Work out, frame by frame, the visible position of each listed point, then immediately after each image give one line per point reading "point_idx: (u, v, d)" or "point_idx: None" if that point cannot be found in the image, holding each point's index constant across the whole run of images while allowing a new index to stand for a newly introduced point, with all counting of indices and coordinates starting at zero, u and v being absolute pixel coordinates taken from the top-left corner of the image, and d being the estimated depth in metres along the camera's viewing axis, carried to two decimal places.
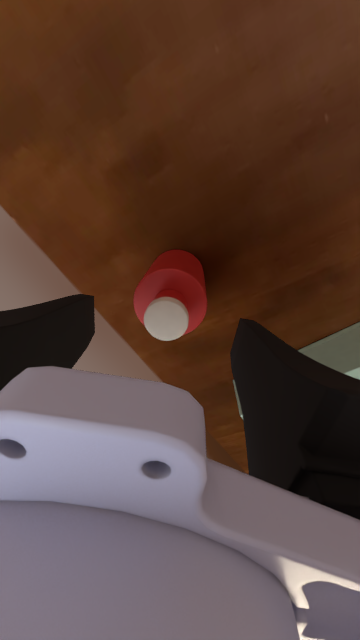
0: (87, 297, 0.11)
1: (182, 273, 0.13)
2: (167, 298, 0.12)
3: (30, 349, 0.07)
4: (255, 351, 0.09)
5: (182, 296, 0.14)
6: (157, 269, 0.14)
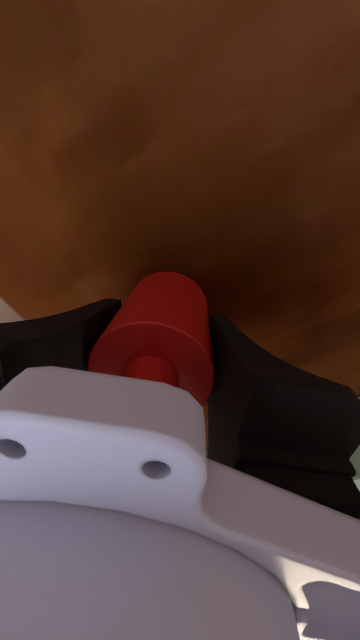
0: (116, 301, 0.11)
1: (171, 329, 0.07)
2: None
3: (72, 356, 0.07)
4: (219, 346, 0.09)
5: (171, 369, 0.08)
6: (126, 321, 0.08)
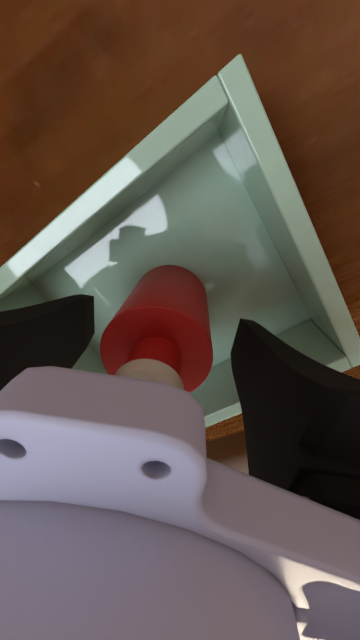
0: (87, 297, 0.11)
1: (174, 312, 0.08)
2: (147, 363, 0.07)
3: (30, 349, 0.07)
4: (255, 351, 0.09)
5: (174, 348, 0.09)
6: (134, 306, 0.09)
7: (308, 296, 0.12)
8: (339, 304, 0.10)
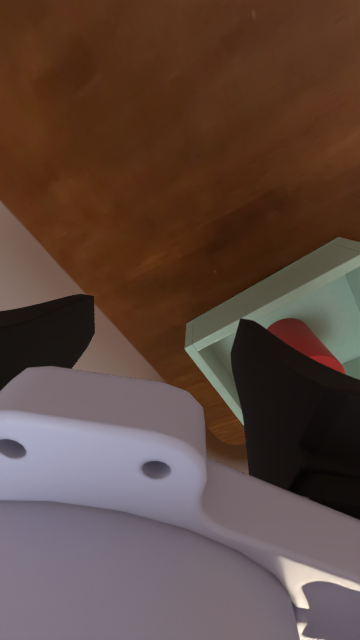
0: (87, 297, 0.11)
1: (331, 359, 0.17)
2: None
3: (30, 350, 0.07)
4: (255, 351, 0.09)
5: None
6: (309, 355, 0.17)
7: None
8: None
